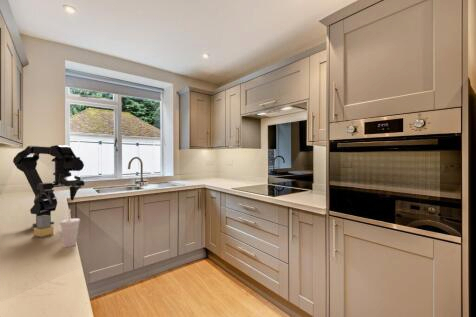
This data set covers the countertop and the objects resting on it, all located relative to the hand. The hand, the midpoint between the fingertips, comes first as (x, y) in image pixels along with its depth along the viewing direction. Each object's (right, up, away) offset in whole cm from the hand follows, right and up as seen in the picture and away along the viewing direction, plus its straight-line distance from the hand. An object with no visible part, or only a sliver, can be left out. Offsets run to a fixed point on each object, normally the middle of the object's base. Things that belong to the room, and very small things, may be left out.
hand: (62, 202), depth 114 cm
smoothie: (+22, -12, -25) cm, 35 cm away
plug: (+2, -12, -13) cm, 18 cm away
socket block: (+2, -12, -13) cm, 18 cm away
